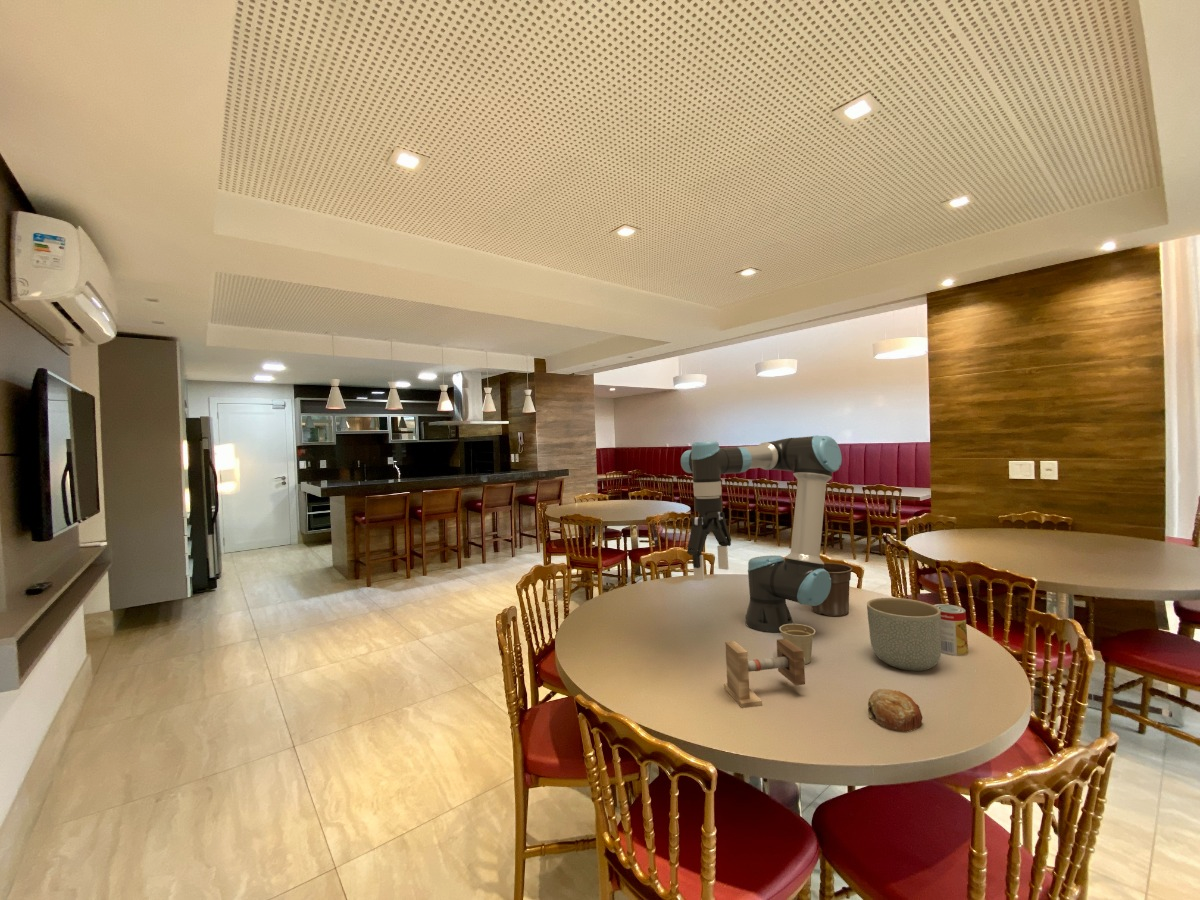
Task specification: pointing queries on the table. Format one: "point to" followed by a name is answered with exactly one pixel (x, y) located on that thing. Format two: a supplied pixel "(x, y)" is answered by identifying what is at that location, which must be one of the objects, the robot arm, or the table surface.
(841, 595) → the plant pot
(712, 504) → the robot arm
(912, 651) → the planter
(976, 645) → the table surface
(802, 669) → the collar
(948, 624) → the canned food
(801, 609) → the table surface
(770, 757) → the table surface
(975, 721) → the table surface
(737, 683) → the rail stand
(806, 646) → the flower pot
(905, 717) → the bread roll
